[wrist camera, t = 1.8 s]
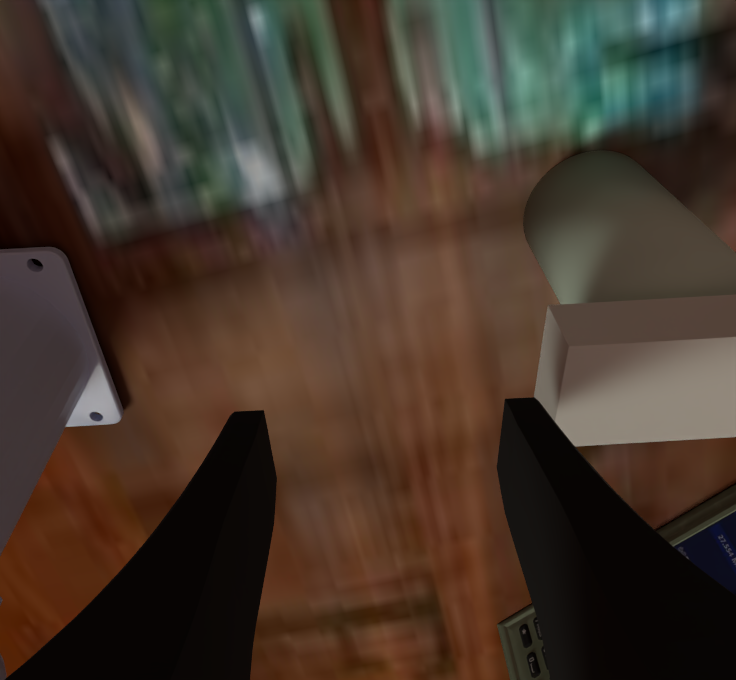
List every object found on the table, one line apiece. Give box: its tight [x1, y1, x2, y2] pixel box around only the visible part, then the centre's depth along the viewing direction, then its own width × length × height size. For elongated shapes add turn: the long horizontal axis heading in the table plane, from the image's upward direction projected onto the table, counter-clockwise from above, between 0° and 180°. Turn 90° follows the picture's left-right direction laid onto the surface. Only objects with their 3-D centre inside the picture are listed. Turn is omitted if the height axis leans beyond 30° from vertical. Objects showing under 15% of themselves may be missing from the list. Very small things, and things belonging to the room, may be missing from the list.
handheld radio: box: [497, 484, 736, 680], centre depth 30 cm, size 7×3×25 cm
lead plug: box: [523, 150, 736, 304], centre depth 19 cm, size 4×4×7 cm
